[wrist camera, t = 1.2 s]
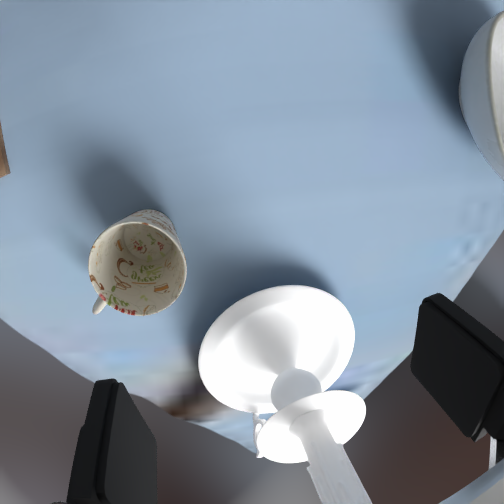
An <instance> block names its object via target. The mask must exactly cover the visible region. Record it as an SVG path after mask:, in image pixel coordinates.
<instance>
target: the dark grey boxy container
mask: <svg viewBox="0 0 504 504" xmlns="http://www.w3.org/2000/svg"><path fill="white" fill-rule="evenodd" d="M7 174H10V170H9V165H8V161H7V156H6V151H5V146H4V141H3V135H2V129H1V123H0V178H1V177H3V176H5V175H7Z"/></svg>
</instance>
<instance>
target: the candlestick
mask: <svg viewBox="0 0 504 504" xmlns="http://www.w3.org/2000/svg"><path fill="white" fill-rule="evenodd" d="M354 341H355V330H354V324H353V321H352V318H351V316H350V314H349V312H348V310H347V309H346V307H345V306H344V305H343V304H342V303H341V302H340V301H339V300H338V299H337V298H336V297H334V296H333V295H331V294H329V293H327V292H325V291H323V290H320V289H317V288H314V287H309V286H303V285H284V286H276V287H272V288H267V289H264V290H261V291H258V292H255V293H253V294H251V295H248V296H246V297H245V298H243V299H241V300H239V301H238V302H236V303H234V304H233V305H232V306H230V307H229V308H228V309H226V310H225V311H224V312H223V313H222V314H221V315H220V316H219V317H218V318H217V319H216V320H215V321H214V323H213V324H212V325H211V326H210V328H209V330H208V331H207V333H206V335H205V337H204V339H203V341H202V344H201V347H200V351H199V358H198V366H199V373H200V376H201V379H202V381H203V383H204V385H205V387H206V388H207V390H208V391H209V392H210V393H211V394H212V395H213V396H214V397H215V398H216V399H217V400H218V401H220V402H221V403H223V404H225V405H227V406H229V407H231V408H233V409H236V410H240V411H244V412H250V413H253V424H254V430H253V439H254V444H255V446H256V448H257V458H262V457H263V456H264V457H266V458H268V459H269V460H272V461H275V462H281V463H297V462H304V461H308V462H309V464H310V466H309V467H307V470H308V472H309V473H310V476H311V478H312V480H313V483H314V485H315V488H316V490H317V492H318V495H319V497H320V500H321V502H322V504H372V502H371V500H370V498H369V496H368V494H367V493H366V491H365V489H364V487H363V485H362V483H361V481H360V479H359V477H358V475H357V474H356V472H355V470H354V468H353V466H352V464H351V462H350V460H349V458H348V456H347V454H346V452H345V451H344V448H343V444H344V443H345V442H347V441H348V440H349V439H350V438H351V437H352V436H353V435H354V434H355V433H356V432H357V430H358V429H359V428H360V426H361V424H362V422H363V420H364V418H365V414H366V406H365V403H364V401H363V399H362V398H361V397H360V396H358V395H357V394H355V393H352V392H349V391H343V390H332V391H325V390H326V389H327V388H329V387H330V386H331V385H332V384H333V383H334V382H335V381H336V379H337V378H338V377H339V376H340V375H341V373H342V372H343V370H344V369H345V367H346V365H347V363H348V361H349V359H350V357H351V354H352V351H353V347H354ZM274 412H276V413H275V414H274V415H272V416H271V417H270V418H269V419H268V420H267V421H266V420H265V419H259V413H274ZM261 426H262V428H261V429H260V427H261Z"/></svg>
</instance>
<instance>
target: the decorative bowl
mask: <svg viewBox="0 0 504 504" xmlns="http://www.w3.org/2000/svg"><path fill="white" fill-rule="evenodd" d="M459 102H460V107H461V111H462V115H463V117H464V120H465V122H466V124H467V126H468V128H469V130H470V132H471V135H472V137H473V139H474V141H475V143H476V145H477V147H478V149H479V150H480V152H481V154H482V155H483V157H484V158H485V160H486V161H487V162H488V164H489V165H490V166H491V167H492V169H493V170H494V171H495V172H496V173H497V174H498V175H499V177H500V178H501V179H502V180H503V181H504V11H502V12H500V13H498V14H496V15H495V16H493V17H492V18H490V19H489V20H488V21H487V22H486V23H485V24H484V25H483V26H482V27H481V28H480V29H479V30H478V31H477V33H476V34H475V35H474V37H473V38H472V40H471V42H470V44H469V46H468V48H467V51H466V53H465V56H464V60H463V64H462V69H461V78H460V82H459Z"/></svg>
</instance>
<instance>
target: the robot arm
mask: <svg viewBox="0 0 504 504" xmlns="http://www.w3.org/2000/svg"><path fill="white" fill-rule="evenodd" d="M411 371H412V373H413V374H414V376H415V377H416V378H417V379H418V380H419V382H420V383H421V384H422V385H423V386H424V387H425V388H426V390H427V391H428V392H429V393H430V394H431V395H432V397H433V398H434V399H435V400H436V401H437V403H438V404H439V405H440V406H441V407H442V409H443V410H444V411H445V412H446V413H447V415H448V416H449V417H450V418H451V419H452V420H453V422H454V423H455V424H456V425H457V426H458V428H459V429H460V430H461V431H462V433H463V434H464V435H465V436H466V437H471V439H472V440H473V441H474V442H476V441H477V440H479V439H480V438H482V437H483V436H485V435H486V433H487V432H488V433H489V434H490V436H491V447H490V462H489V470H488V471H487V472H486V473H484V474H483V475H482V476H480V477H479V478H477V479H476V480H474V481H473V482H472V483H470V484H469V485H467V486H466V487H464V488H463V489H462V490H460V491H458V492H457V493H455V494H454V495H452V496H450V497H449V498H447V499H446V500H444V501H442V502H441V503H439V504H504V342H503V341H502V340H501V339H500V338H499V337H498V336H496V335H495V334H494V333H492V332H491V331H490V330H489V329H487V328H486V327H485V326H483V325H482V324H481V323H480V322H478V321H477V320H476V319H475V318H473V317H472V316H470V315H469V314H468V313H467V312H465V311H464V310H463V309H461V308H460V307H459V306H457V305H456V304H455V303H453V302H452V301H451V300H449V299H448V298H447V297H445V296H444V295H443V294H441V293H437V294H434V295H431V296H429V297H426V298H424V299H423V301H422V304H421V305H420V307H419V314H418V321H417V329H416V335H415V342H414V348H413V354H412V360H411ZM51 504H157V445H156V440H155V437H154V435H153V434H152V432H151V430H150V429H149V428H148V426H147V424H146V422H145V421H144V419H143V417H142V416H141V414H140V412H139V411H138V409H137V407H136V406H135V404H134V402H133V400H132V399H131V397H130V395H129V393H128V391H127V390H126V388H125V386H124V384H123V383H121V382H120V383H118V382H117V380H116V379H106V380H98V381H96V382H95V384H94V388H93V392H92V396H91V400H90V404H89V408H88V412H87V416H86V420H85V424H84V425H83V427H82V428H81V430H80V433H79V437H78V442H77V447H76V451H75V456H74V461H73V466H72V471H71V477H70V483H69V489H68V495H67V501H66V502H61V501H60V502H53V503H51Z"/></svg>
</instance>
